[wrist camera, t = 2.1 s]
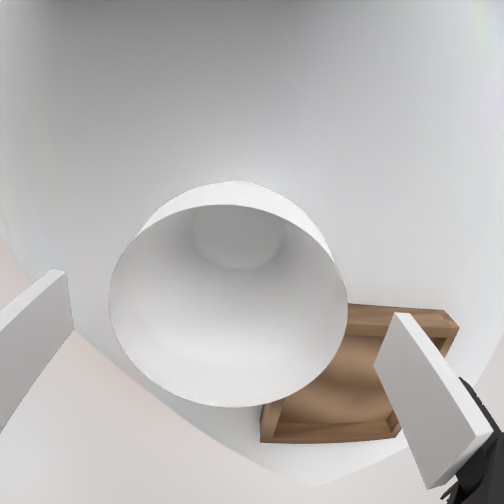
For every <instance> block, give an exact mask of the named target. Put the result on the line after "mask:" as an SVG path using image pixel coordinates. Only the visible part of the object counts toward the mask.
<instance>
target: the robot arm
mask: <svg viewBox="0 0 504 504" xmlns="http://www.w3.org/2000/svg"><path fill="white" fill-rule="evenodd" d="M73 330H74V325H73V319H72V313H71V307H70V300H69V293H68V285H67V276H66V271H61V270H56V269H50V270H49V271H48V272H46V273H45V274H44V275H43V276H41V277H40V278H39V279H38V280H36V281H35V282H34V283H33V284H32V285H30V286H29V287H28V288H27V289H26V290H24V291H23V292H22V293H21V294H20V295H19V296H17V297H16V298H15V299H14V300H13V301H11V302H10V303H9V304H8V305H7V306H6V307H5V308H3V309H2V310H1V311H0V433H1V431H2V430H3V428H4V427H5V425H6V424H7V422H8V420H9V419H10V417H11V416H12V414H13V413H14V411H15V410H16V408H17V407H18V405H19V404H20V402H21V401H22V399H23V398H24V396H25V395H26V393H27V392H28V390H29V389H30V387H31V386H32V385H33V383H34V382H35V381H36V379H37V378H38V376H39V375H40V374H41V372H42V371H43V369H44V368H45V367H46V365H47V364H48V362H49V361H50V360H51V358H52V357H53V356H54V355H55V353H56V352H57V351H58V349H59V348H60V347H61V345H62V344H63V343H64V341H65V340H66V339H67V337H68V336H69V335H70V334H71V332H72V331H73ZM373 366H374V368H375V370H376V373H377V375H378V377H379V379H380V381H381V383H382V385H383V388H384V390H385V392H386V394H387V396H388V398H389V401H390V403H391V405H392V407H393V410H394V412H395V414H396V416H397V419H398V421H399V423H400V425H401V428H402V430H403V432H404V435H405V437H406V439H407V442H408V444H409V446H410V449H411V451H412V453H413V456H414V458H415V461H416V463H417V466H418V468H419V471H420V473H421V476H422V478H423V481H424V483H425V486H426V488H427V490H428V489H431V488H435V487H438V486H441V485H445V484H446V483H447V482H448V481H449V480H450V479H451V478H452V477H453V476H454V475H455V474H456V477H457V479H458V481H457V482H456V483H455V484H454V485H453V486H452V487H450V488H449V489H448V490H447V491H446V492H445V493H444V494H443V495H442V497H441V498H440V499H442V500H443V499H444V498H445V497H446V496H447V495H449V494H450V493H451V494H450V497H449V499H447V502H448V503H447V504H504V432H503V433H502V432H501V430H500V429H499V427H498V426H497V424H496V423H495V421H494V419H493V418H492V417H491V415H490V413H489V412H488V410H487V409H486V408H485V406H484V405H482V402H481V400H480V399H479V397H477V394H476V393H475V392H474V390H473V389H472V387H471V386H470V385H469V384H468V383H467V382H466V381H464V380H463V379H462V378H461V377H457V375H456V374H455V372H454V371H453V370H452V368H451V367H450V365H449V364H448V363H447V361H446V360H445V359H444V357H443V356H442V355H441V353H440V352H439V351H438V349H437V348H436V347H435V345H434V344H433V343H432V341H431V340H430V339H429V337H428V336H427V335H426V333H425V332H424V331H423V330H422V328H421V327H420V326H419V324H418V323H417V322H416V321H415V319H414V318H413V317H412V316H411V314H410V313H398V312H394V315H393V317H392V320H391V323H390V325H389V328H388V331H387V333H386V336H385V338H384V341H383V343H382V346H381V348H380V350H379V353H378V355H377V358H376V360H375V362H374V365H373Z"/></svg>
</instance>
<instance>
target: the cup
mask: <svg viewBox="0 0 504 504" xmlns="http://www.w3.org/2000/svg"><path fill="white" fill-rule="evenodd" d="M109 311H110V317H111V322H112V326H113V329H114V332H115V334H116V337H117V339H118V341H119V343H120V345H121V347H122V348H123V350H124V352H125V353H126V355H127V356H128V358H129V359H130V360H131V361H132V362H133V364H134V365H135V366H136V367H137V368H138V369H139V370H140V371H141V372H142V373H143V374H144V375H145V376H146V377H148V378H149V379H150V380H151V381H153V382H154V383H156V384H157V385H158V386H160V387H162V388H163V389H165V390H167V391H169V392H171V393H172V394H175V395H177V396H179V397H181V398H184V399H187V400H190V401H193V402H196V403H200V404H204V405H210V406H217V407H230V408H235V407H250V406H257V405H262V404H266V403H270V402H273V401H276V400H279V399H282V398H284V397H287V396H289V395H291V394H293V393H295V392H297V391H298V390H300V389H302V388H303V387H305V386H306V385H308V384H309V383H310V382H312V381H313V380H314V379H315V378H316V377H317V376H318V375H320V374H321V373H322V371H323V370H324V369H325V368H326V367H327V366H328V364H329V363H330V362H331V361H332V359H333V357H334V356H335V354H336V353H337V351H338V349H339V347H340V345H341V342H342V339H343V337H344V334H345V329H346V325H347V317H348V303H347V295H346V290H345V287H344V283H343V280H342V278H341V275H340V273H339V270H338V268H337V266H336V264H335V262H334V260H333V258H332V255H331V252H330V250H329V247H328V245H327V242H326V240H325V239H324V237H323V235H322V233H321V232H320V230H319V229H318V227H317V226H316V224H315V223H314V222H313V221H312V220H311V219H310V217H309V216H308V215H307V214H305V213H304V212H303V211H302V210H301V209H300V208H299V207H298V206H296V205H295V204H294V203H292V202H291V201H290V200H288V199H286V198H285V197H283V196H281V195H279V194H277V193H275V192H273V191H271V190H269V189H267V188H264V187H262V186H260V185H257V184H254V183H251V182H247V181H227V182H220V183H214V184H209V185H204V186H201V187H197V188H194V189H191V190H189V191H187V192H184V193H182V194H180V195H179V196H177V197H175V198H173V199H171V200H170V201H168V202H167V203H166V204H164V205H163V206H162V207H161V208H159V209H158V210H157V211H156V212H155V213H154V214H153V215H152V216H151V217H150V218H149V220H148V221H147V222H146V224H145V225H144V226H143V228H142V229H141V230H140V232H139V233H138V234H137V236H136V237H135V238H134V239H133V240H132V242H131V243H130V244H129V245H128V247H127V248H126V250H125V251H124V253H123V254H122V256H121V257H120V259H119V261H118V263H117V265H116V268H115V270H114V273H113V276H112V280H111V284H110V291H109Z"/></svg>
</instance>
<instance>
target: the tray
mask: <svg viewBox="0 0 504 504" xmlns="http://www.w3.org/2000/svg"><path fill="white" fill-rule="evenodd" d="M394 312H398V313H410V314H411V316H412V317H413V318H414V319H415V321H416V322H417V323H418V324H419V326H420V327H421V328H422V330H423V331H424V332H425V333H426V335H427V336H428V337H429V339H430V340H431V341H432V343H433V344H434V345H435V347H436V348H437V349H438V351H439V352H440V353H441V355H442V356H443V357H444V358H445V356H446V354H447V353H448V351H449V349H450V347H451V345H452V343H453V341H454V339H455V336H456V334H457V332H458V330H459V326H458V325H457V324H456V323H455V322H454V321H453V320H452V319H451V317H450V316H449V315H448V314H447V313H446V312H445V311H444V310H430V309H414V308H399V307H385V306H372V305H360V304H348V317H347V325H346V329H345V334H344V337H343V339H342V342H341V345H340V347H339V349H338V351H337V353H336V354H335V356H334V357H333V359H332V361H331V362H330V363H329V364H328V366H327V367H326V368H325V369H324V370H323V371H322V373H321V374H320V375H318V376H317V377H316V378H315V379H314V380H313V381H312V382H310V383H309V384H308V385H306V386H305V387H303V388H302V389H300V390H298V391H297V392H295V393H293V394H291V395H289V396H287V397H284V398H282V399H279V400H276V401H273V402H270V403H266V404H264V405H263V409H262V413H261V417H260V442H262V443H290V444H316V443H343V442H358V441H370V440H380V439H389V438H395V437H396V436H397V435H398V433H399V432H400V430H401V429H402V428H401V425H400V423H399V421H398V419H397V416H396V414H395V412H394V410H393V407H392V405H391V403H390V401H389V398H388V396H387V394H386V392H385V390H384V388H383V385H382V383H381V381H380V379H379V377H378V375H377V373H376V370H375V368H374V366H373V365H374V362H375V360H376V358H377V355H378V353H379V350H380V348H381V346H382V343H383V341H384V338H385V336H386V333H387V331H388V328H389V325H390V323H391V320H392V317H393V315H394Z"/></svg>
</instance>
